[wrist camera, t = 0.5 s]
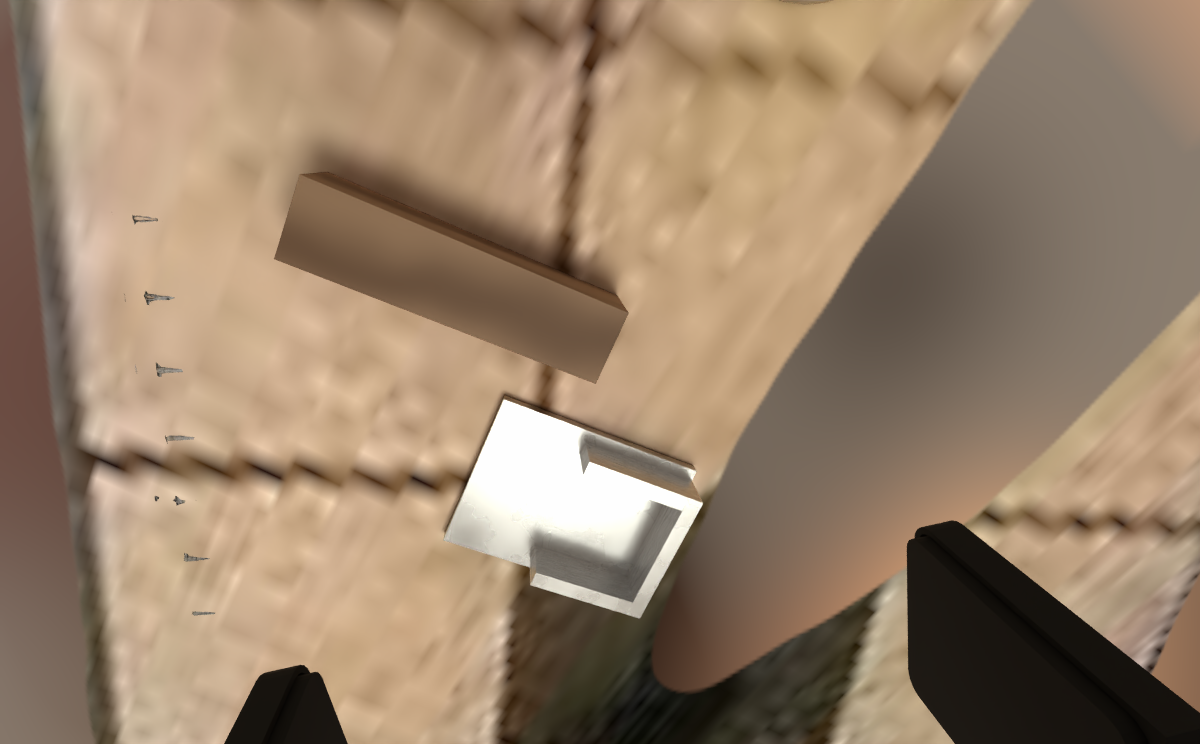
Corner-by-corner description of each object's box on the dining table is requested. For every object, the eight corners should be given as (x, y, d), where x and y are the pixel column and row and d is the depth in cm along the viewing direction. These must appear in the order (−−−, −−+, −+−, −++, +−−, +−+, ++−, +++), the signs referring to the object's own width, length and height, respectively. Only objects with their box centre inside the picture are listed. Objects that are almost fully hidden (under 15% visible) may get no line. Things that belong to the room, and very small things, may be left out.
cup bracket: (504, 394, 41) (502, 418, 37) (693, 466, 44) (708, 493, 41) (444, 533, 44) (437, 567, 40) (626, 590, 47) (635, 626, 43)
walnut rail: (329, 172, 36) (299, 174, 31) (616, 294, 40) (628, 313, 35) (306, 245, 37) (273, 258, 32) (587, 357, 41) (595, 383, 36)
